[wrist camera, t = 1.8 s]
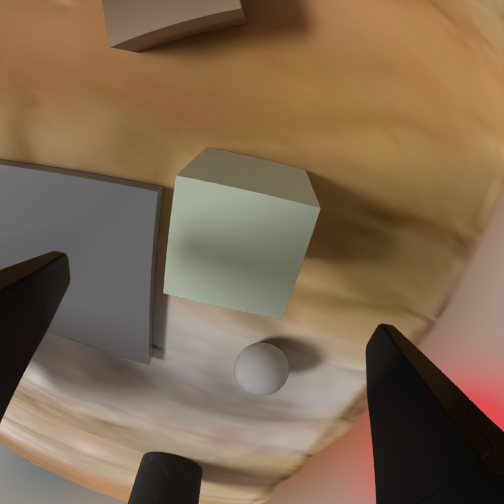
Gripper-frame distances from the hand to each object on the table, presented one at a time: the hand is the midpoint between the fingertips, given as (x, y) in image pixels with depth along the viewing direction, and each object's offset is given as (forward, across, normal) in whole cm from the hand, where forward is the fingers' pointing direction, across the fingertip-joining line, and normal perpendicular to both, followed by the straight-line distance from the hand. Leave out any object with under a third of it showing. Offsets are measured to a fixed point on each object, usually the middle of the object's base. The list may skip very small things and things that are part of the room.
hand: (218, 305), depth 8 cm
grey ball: (+6, -3, +9) cm, 11 cm away
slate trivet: (+8, +10, +6) cm, 14 cm away
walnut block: (+8, +5, -10) cm, 13 cm away
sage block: (+8, 0, 0) cm, 8 cm away
